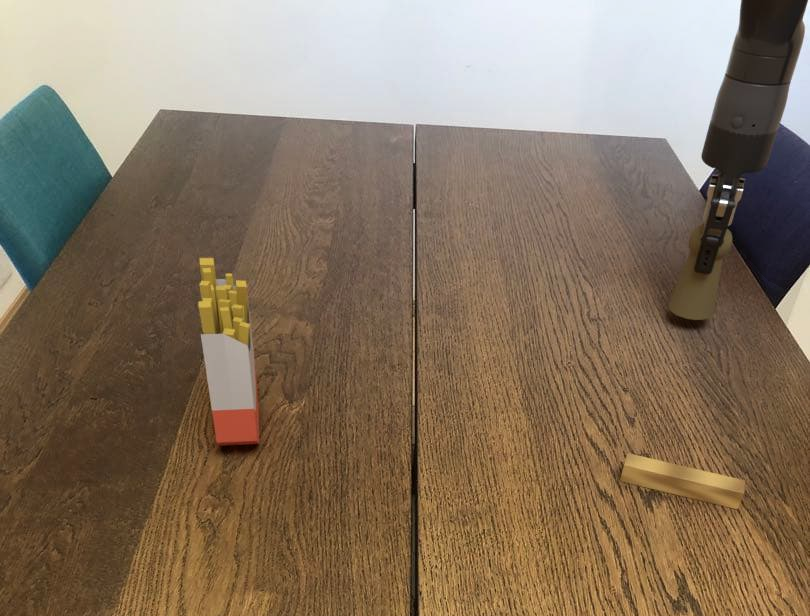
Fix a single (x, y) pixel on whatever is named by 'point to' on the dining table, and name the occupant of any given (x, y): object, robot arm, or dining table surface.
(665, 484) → the golden stick
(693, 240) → the olive pawn
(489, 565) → the dining table surface
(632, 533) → the dining table surface
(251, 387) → the french fries container
